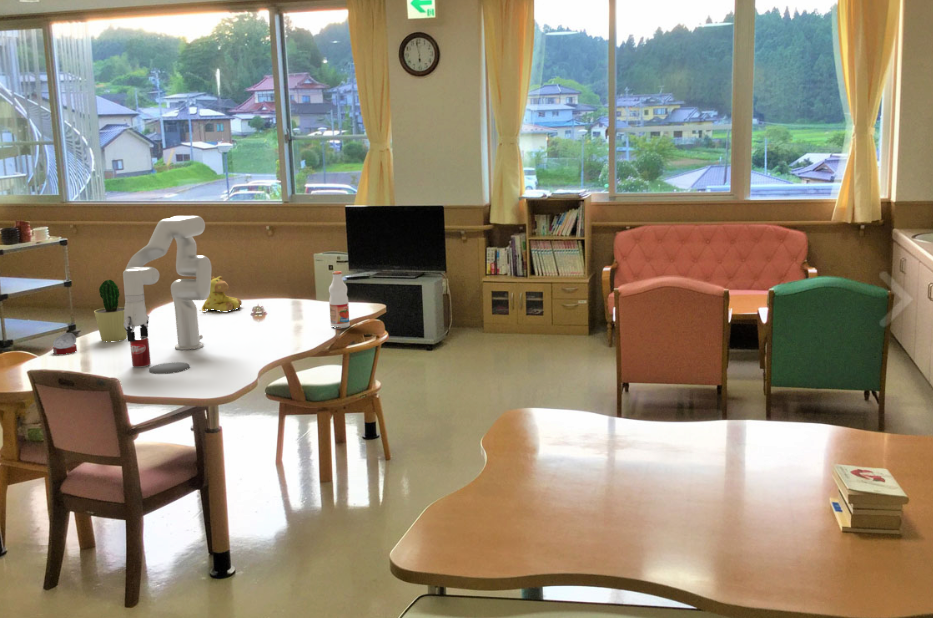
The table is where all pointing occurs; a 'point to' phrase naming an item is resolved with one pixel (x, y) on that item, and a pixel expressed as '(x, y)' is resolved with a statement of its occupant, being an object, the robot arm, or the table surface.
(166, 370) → the charcoal mat
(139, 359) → the soda can
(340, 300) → the fruit juice
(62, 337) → the snow globe
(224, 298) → the giraffe plush
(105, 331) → the potted cactus
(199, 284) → the robot arm
